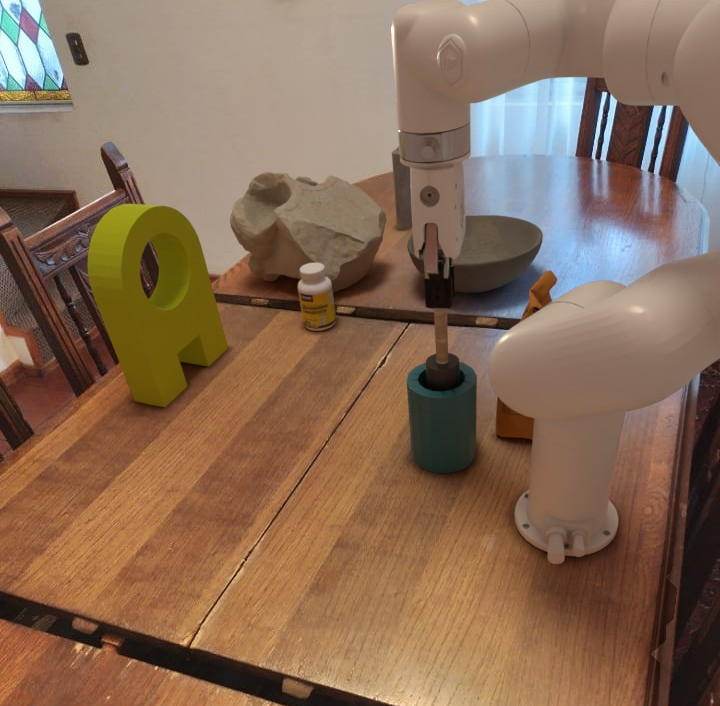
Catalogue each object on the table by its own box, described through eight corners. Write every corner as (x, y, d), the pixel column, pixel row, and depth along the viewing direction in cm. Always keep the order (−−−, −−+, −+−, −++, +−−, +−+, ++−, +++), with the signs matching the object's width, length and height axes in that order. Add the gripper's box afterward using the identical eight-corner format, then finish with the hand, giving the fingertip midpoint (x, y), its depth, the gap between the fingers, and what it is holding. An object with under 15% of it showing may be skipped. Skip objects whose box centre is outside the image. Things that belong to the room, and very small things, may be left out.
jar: (472, 475, 94) (472, 399, 86) (407, 471, 97) (401, 396, 88) (478, 434, 101) (479, 360, 93) (417, 431, 103) (413, 358, 95)
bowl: (398, 312, 133) (395, 263, 126) (421, 255, 152) (419, 210, 145) (536, 315, 126) (540, 264, 120) (541, 255, 145) (545, 208, 139)
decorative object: (165, 407, 116) (103, 236, 96) (134, 401, 118) (68, 233, 99) (228, 348, 129) (185, 187, 109) (199, 343, 131) (153, 185, 112)
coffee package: (572, 402, 105) (589, 268, 90) (553, 450, 96) (568, 311, 82) (509, 391, 108) (515, 261, 94) (486, 437, 100) (489, 302, 86)
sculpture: (346, 285, 167) (248, 200, 159) (414, 210, 147) (307, 109, 139) (306, 347, 150) (195, 255, 142) (378, 272, 130) (253, 161, 122)
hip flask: (410, 205, 176) (405, 122, 163) (425, 205, 175) (422, 121, 162) (395, 230, 164) (389, 142, 152) (411, 230, 163) (407, 141, 150)
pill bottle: (297, 329, 132) (287, 273, 124) (314, 313, 136) (305, 258, 128) (326, 334, 129) (317, 277, 122) (342, 318, 133) (335, 262, 126)
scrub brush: (457, 396, 89) (455, 266, 77) (424, 395, 90) (417, 267, 78) (461, 378, 92) (459, 250, 81) (429, 377, 93) (422, 251, 82)
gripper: (462, 165, 65) (464, 335, 76) (477, 120, 76) (477, 274, 88) (385, 168, 66) (399, 334, 78) (411, 124, 78) (420, 274, 90)
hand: (440, 301), depth 83 cm, fingers closed on scrub brush
